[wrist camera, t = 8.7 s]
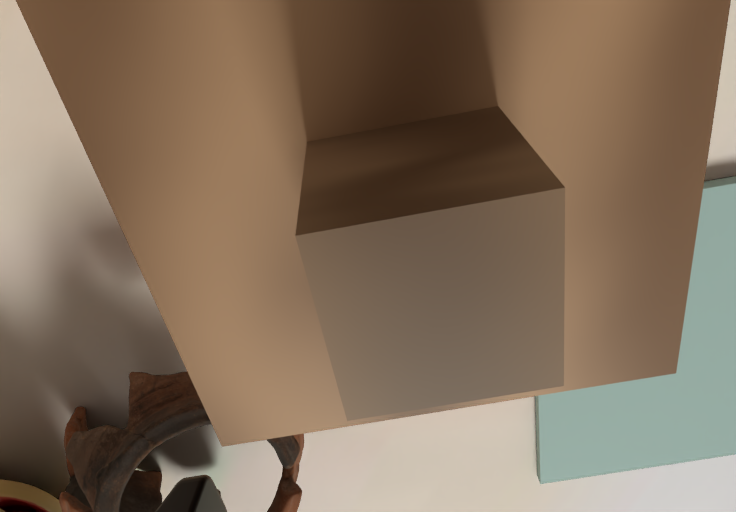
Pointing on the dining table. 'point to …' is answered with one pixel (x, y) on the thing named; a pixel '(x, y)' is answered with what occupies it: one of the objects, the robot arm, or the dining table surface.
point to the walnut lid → (398, 191)
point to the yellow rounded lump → (26, 498)
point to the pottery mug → (143, 433)
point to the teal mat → (661, 378)
